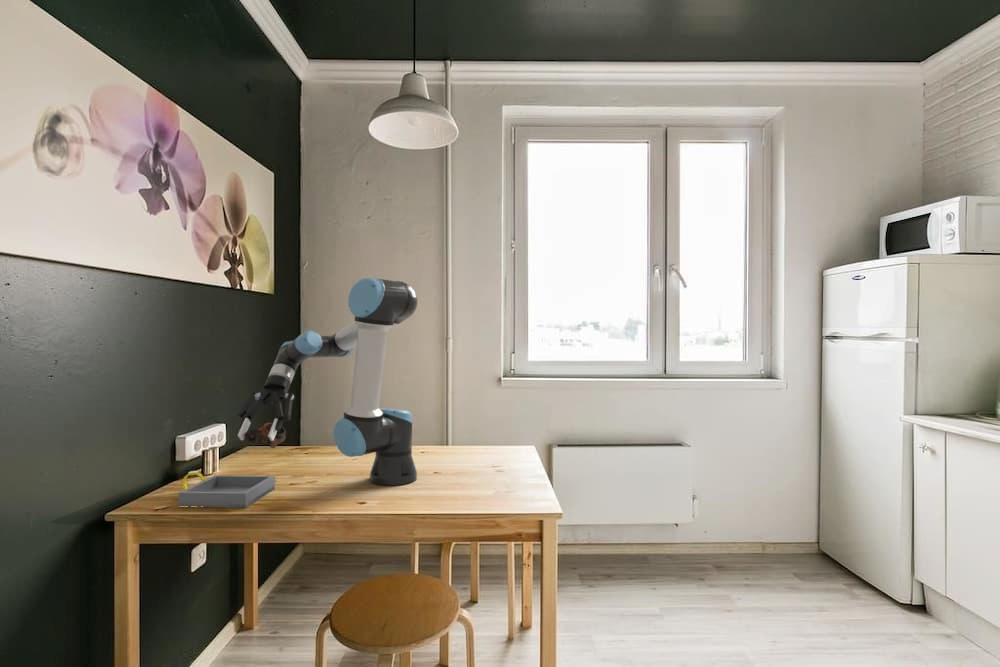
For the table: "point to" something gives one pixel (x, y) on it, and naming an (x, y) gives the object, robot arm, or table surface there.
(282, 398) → the robot arm
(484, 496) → the table surface
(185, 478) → the watch
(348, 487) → the table surface
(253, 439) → the broken clay jug
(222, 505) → the tray
